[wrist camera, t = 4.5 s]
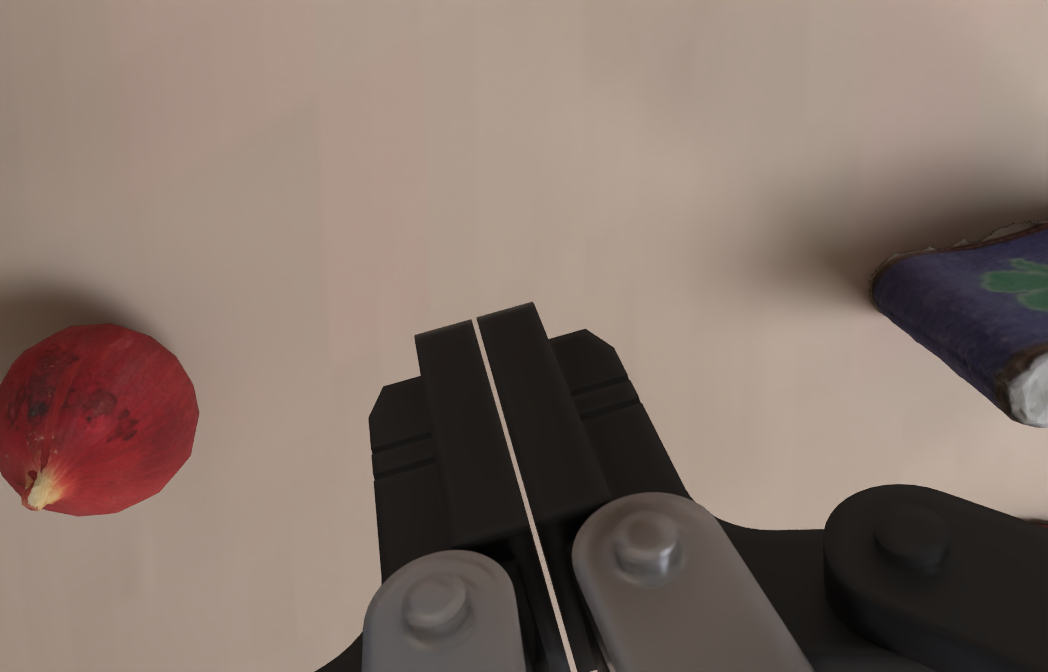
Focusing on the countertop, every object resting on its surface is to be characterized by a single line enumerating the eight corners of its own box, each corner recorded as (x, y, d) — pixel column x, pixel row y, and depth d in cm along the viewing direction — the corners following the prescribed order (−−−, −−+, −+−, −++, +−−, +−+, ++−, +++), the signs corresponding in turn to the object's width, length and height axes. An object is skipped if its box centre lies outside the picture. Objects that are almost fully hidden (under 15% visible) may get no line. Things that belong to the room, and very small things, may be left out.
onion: (34, 299, 30) (-111, 406, 23) (205, 284, 30) (114, 386, 23) (80, 449, 32) (-39, 591, 25) (239, 435, 33) (167, 572, 25)
